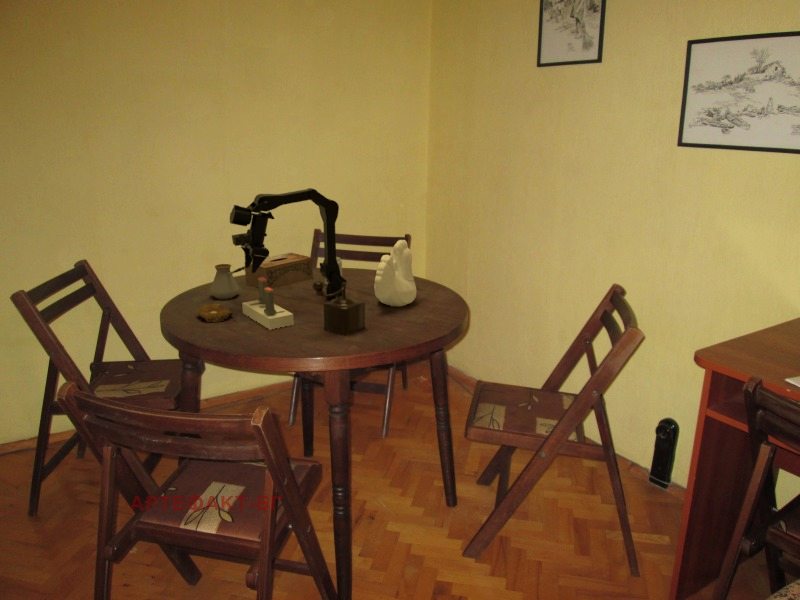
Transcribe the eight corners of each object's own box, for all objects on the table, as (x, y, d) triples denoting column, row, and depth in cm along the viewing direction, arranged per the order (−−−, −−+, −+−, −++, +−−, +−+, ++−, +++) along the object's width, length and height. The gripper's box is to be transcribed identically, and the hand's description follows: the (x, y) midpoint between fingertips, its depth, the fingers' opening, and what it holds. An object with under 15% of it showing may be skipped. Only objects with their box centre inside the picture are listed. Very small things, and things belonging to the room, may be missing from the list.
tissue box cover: (292, 273, 283) (291, 252, 280) (313, 278, 274) (312, 257, 271) (246, 284, 264) (244, 262, 261) (266, 290, 255) (265, 267, 252)
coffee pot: (204, 297, 245) (201, 260, 240) (228, 291, 253) (226, 256, 249) (237, 307, 232) (234, 269, 228) (261, 300, 240) (259, 263, 236)
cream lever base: (265, 308, 230) (264, 297, 229) (293, 324, 213) (293, 313, 212) (242, 313, 225) (242, 302, 224) (269, 330, 208) (269, 318, 206)
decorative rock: (189, 316, 223) (208, 328, 213) (188, 306, 222) (207, 317, 211) (218, 308, 230) (238, 319, 220) (217, 298, 229) (237, 308, 219)
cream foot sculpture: (393, 294, 250) (394, 234, 242) (425, 301, 241) (426, 239, 233) (353, 309, 231) (352, 244, 223) (385, 317, 221) (385, 250, 214)
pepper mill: (342, 321, 217) (341, 272, 212) (366, 327, 211) (365, 277, 205) (311, 333, 205) (309, 281, 200) (335, 340, 199) (334, 287, 194)
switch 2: (271, 310, 213) (270, 286, 211) (276, 313, 211) (275, 289, 208) (263, 312, 212) (262, 288, 209) (268, 315, 209) (267, 290, 206)
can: (339, 287, 259) (338, 260, 256) (322, 286, 261) (321, 259, 257) (344, 283, 266) (343, 256, 263) (328, 282, 268) (327, 255, 264)
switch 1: (265, 299, 226) (263, 276, 224) (269, 301, 224) (268, 279, 221) (257, 300, 225) (256, 278, 222) (262, 303, 222) (260, 280, 219)
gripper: (230, 220, 225) (222, 261, 228) (242, 228, 209) (233, 272, 212) (259, 226, 231) (251, 266, 233) (273, 234, 215) (264, 277, 218)
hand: (249, 270), depth 224 cm, fingers open, 9 cm apart
